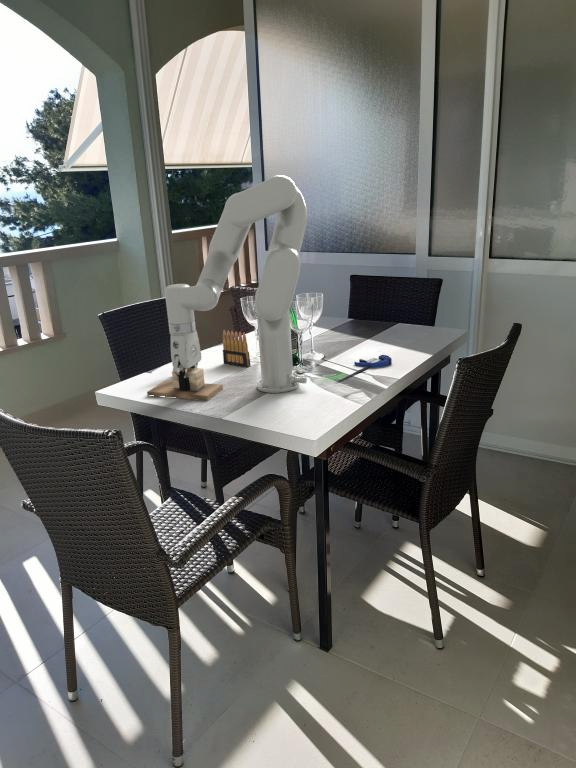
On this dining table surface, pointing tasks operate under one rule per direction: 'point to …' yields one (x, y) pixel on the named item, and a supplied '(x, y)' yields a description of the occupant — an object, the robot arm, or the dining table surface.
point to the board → (169, 391)
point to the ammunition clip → (235, 350)
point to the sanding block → (191, 379)
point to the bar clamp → (371, 364)
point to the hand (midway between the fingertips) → (189, 386)
